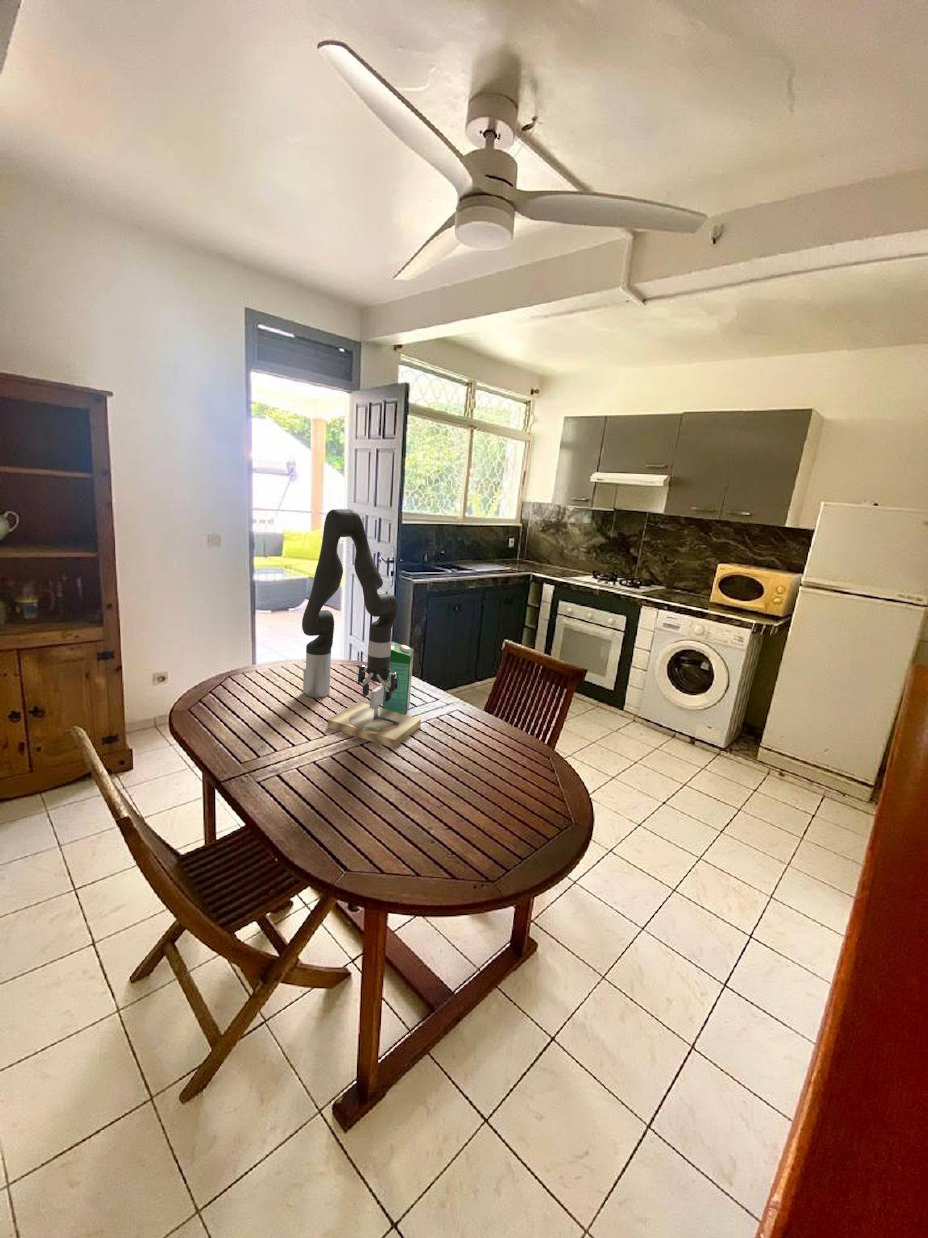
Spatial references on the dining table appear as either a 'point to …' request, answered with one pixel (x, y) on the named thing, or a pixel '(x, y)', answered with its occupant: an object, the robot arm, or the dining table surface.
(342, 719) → the dial board
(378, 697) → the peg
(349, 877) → the dining table surface
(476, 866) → the dining table surface
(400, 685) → the milk carton
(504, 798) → the dining table surface
